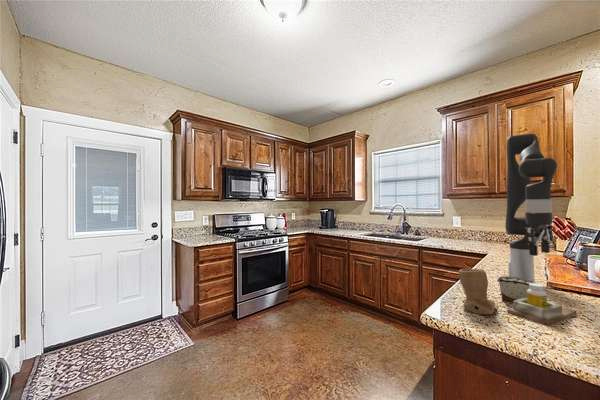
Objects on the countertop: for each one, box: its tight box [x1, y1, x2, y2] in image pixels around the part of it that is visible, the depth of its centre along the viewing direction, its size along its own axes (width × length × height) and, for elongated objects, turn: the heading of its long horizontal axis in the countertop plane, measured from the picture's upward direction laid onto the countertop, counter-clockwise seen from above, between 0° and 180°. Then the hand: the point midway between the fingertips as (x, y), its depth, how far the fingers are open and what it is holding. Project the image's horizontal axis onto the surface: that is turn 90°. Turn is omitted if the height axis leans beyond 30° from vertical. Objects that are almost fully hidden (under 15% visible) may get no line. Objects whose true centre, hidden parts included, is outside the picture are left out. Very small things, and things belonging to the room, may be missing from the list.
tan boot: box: [458, 268, 496, 315], centre depth 100 cm, size 15×12×15 cm
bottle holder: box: [506, 297, 578, 327], centre depth 94 cm, size 12×20×4 cm, turn 115°
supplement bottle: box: [527, 282, 548, 308], centre depth 93 cm, size 5×5×10 cm
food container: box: [497, 275, 536, 304], centre depth 106 cm, size 12×6×10 cm, turn 47°
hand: (539, 253), depth 97 cm, fingers open, 8 cm apart
